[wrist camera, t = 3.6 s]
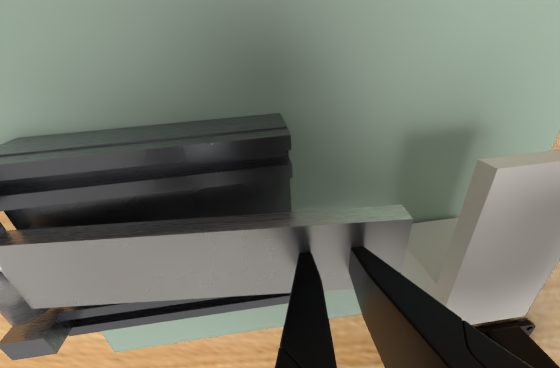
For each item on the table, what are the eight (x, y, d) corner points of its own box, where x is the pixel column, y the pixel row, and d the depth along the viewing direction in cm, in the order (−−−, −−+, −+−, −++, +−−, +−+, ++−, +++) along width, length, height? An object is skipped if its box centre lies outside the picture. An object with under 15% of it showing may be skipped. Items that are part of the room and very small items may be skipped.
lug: (446, 257, 15) (515, 329, 12) (382, 266, 15) (431, 344, 11) (494, 116, 11) (625, 153, 7) (408, 125, 11) (498, 168, 7)
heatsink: (289, 258, 14) (302, 323, 11) (75, 287, 13) (19, 367, 10) (280, 112, 10) (296, 144, 7) (-21, 141, 10) (-163, 192, 6)
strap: (384, 272, 10) (399, 302, 9) (30, 294, 11) (-2, 326, 9) (400, 186, 9) (421, 211, 7) (-33, 216, 9) (-83, 244, 8)
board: (471, 283, 19) (482, 295, 18) (121, 336, 17) (114, 352, 16) (632, -94, 9) (672, -109, 8) (-125, -64, 8) (-174, -79, 7)
